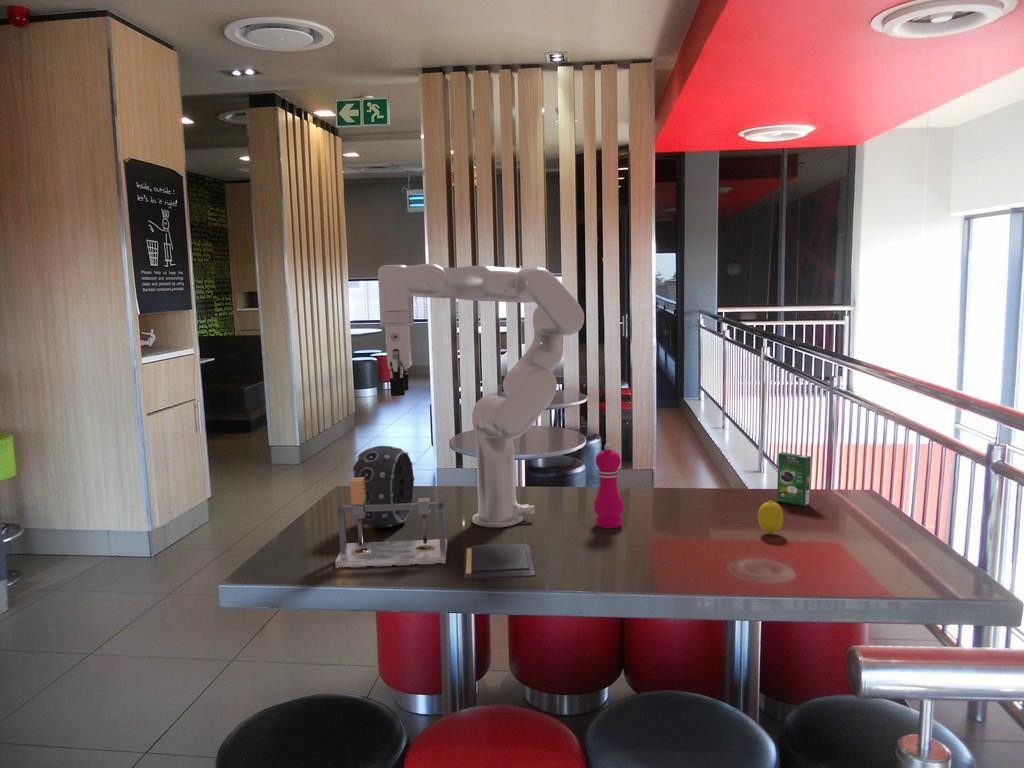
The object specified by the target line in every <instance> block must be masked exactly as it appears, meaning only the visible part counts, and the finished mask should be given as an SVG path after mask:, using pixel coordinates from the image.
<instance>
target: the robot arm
mask: <svg viewBox="0 0 1024 768" xmlns="http://www.w3.org/2000/svg"><path fill="white" fill-rule="evenodd" d="M377 271H378V272H377V280H378V281H377V283H378V301H379V321H380V322H379V323H380V325H379V326H380V327H385V347H386V360H387V367H388V369H389V370H390V372H389V373H390V374H389V376H390V378H389V389H390V391H389V393H390V396H391V397H401V396H405V395H406V392H407V391H409V390H410V389H409V373H408V369H410V368H411V366H412V365H413V358H412V344H411V341H412V340H411V331H410V330H411V329H410V326H413V325H414V311H413V309H414V308H413V307H414V306H413V297H414V298H432V299H433V298H435V299H439V298H440V299H455V300H464V301H473V302H474V301H476V302H498V303H499V302H501V303H515V304H516V303H517V304H518V303H521V304H522V303H523V304H524V303H525V304H526V303H527V304H528V303H529V304H530V303H535V304H536V305H537V306H536V308H535V309H534V311H533V312H532V313H533V314H532V326H533V340H532V343H531V344H530V346H529V348H528V349H527V350H526V352H525V353H524V354H522V356H521V357H520V358H519V360H518V361H517V362H516V363H515V364H514V366H512V368H510V370H508V372H507V374H506V375H505V376H504V378H503V382H502V388H503V391H504V393H505V395H506V396H507V397H504V396H500V395H486V396H483V397H482V398H479V399H478V401H477V402H476V403H475V404H474V406H473V409H472V412H471V413H472V414H471V421H472V427H473V429H472V430H473V434H474V439H475V447H476V448H475V450H476V481H477V483H476V484H477V486H476V487H477V510H478V512H477V513H475V514H474V515H472V517H471V518H472V519H471V520H472V523H473V524H474V525H476V526H479V527H484V528H505V527H512V526H516V525H517V524H520V523H521V522H523V520H524V519H523V514H535V505H529V504H528V503H527V504H520V503H518V500H517V495H516V488H517V487H516V463H515V462H516V461H515V459H516V455H515V453H516V452H515V444H514V440H515V439H517V438H520V437H521V436H523V435H524V434H525V433H526V432H527V431H528V430H529V429H530V428H531V427H532V426H533V425H534V423H535V422H537V420H538V418H539V417H540V416H541V415H542V414H543V412H544V411H545V410H546V409H547V408H548V407H549V405H550V404H551V403H552V402H553V400H554V398H555V395H556V393H557V387H558V386H557V385H558V384H557V383H558V382H557V378H556V377H555V374H554V373H553V372H554V371H555V370H556V368H557V367H558V366H559V364H560V363H561V360H562V358H563V355H564V336H572V335H575V334H577V333H579V332H580V330H581V329H582V328H583V325H584V322H585V313H584V310H583V308H582V307H581V305H580V303H579V302H578V301H577V300H576V298H574V296H573V295H572V294H571V293H570V292H569V291H568V290H567V288H566V287H565V286H564V285H563V284H562V283H561V281H560V280H559V279H558V278H557V277H556V276H555V275H554V274H553V273H552V272H551V271H550V270H548V269H547V268H544V267H541V266H536V267H535V266H534V267H525V268H524V267H523V268H521V267H520V268H519V267H506V266H505V267H503V266H493V265H469V266H462V267H461V266H459V267H442V266H440V265H438V264H436V263H423V264H422V263H421V264H415V265H407V264H406V265H405V264H386V265H382V266H380V267H379V268H378V270H377Z"/></svg>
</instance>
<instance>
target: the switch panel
mask: <svg viewBox="0 0 1024 768" xmlns="http://www.w3.org/2000/svg"><path fill="white" fill-rule="evenodd" d="M430 499H431V498H430V497H418V499H417V502H412V503H401V504H376V505H364V512H372V511H397V510H411V511H413V510H414V511H415V510H416V511H417V515H421V518H422V519H421V522H422V523H421V524H422V539H420V540H419V539H418V540H417V539H416V540H393V541H371V542H366V541H365V542H363V546H361V547H360V546H359V542H348V543H347V530H346V529H347V528H346V514H347V513H352V505H338V506H337V513H338V514H337V515H338V516H337V517H338V533H339V537H338V538H339V553H338V555H337V557H336V559H335V561H334V562H335V569H343V568H344V567H351V568H367V567H366V566H374V567H392V565H397V566H411V565H410V564H413V565H412V566H415V565H414V564H419V565H436V564H435V563H442V564H446V560H447V553H448V552H447V551H448V538H446V517H445V516H446V515H445V502H444V501H431V502H430ZM431 510H438V527H439V529H438V531H439V533H438V534H439V538H438V539H428V528H427V527H428V526H427V523H428V521H427V515H430V511H431ZM446 552H447V553H446ZM339 567H340V568H339ZM341 567H343V568H341ZM344 569H345V568H344Z"/></svg>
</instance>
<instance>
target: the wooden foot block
mask: <svg viewBox="0 0 1024 768" xmlns="http://www.w3.org/2000/svg"><path fill="white" fill-rule="evenodd" d="M349 483H350V484H349V487H350V504H352V512H351V513H352V519H356V521H357V537H358V539H357V540H358V543H359V546H360V547H361V546H363V543H364V539H363V523H362V518H364V517H365V515H366V512H364V505H366V504H365V500H366V492H365V477H354V478H353V477H352V478H351V479H350V481H349Z"/></svg>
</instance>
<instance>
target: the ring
mask: <svg viewBox="0 0 1024 768" xmlns="http://www.w3.org/2000/svg"><path fill="white" fill-rule="evenodd" d="M413 464H414V462H413V461H412V460H411V458H410V456H409V452H407V451H405V450H403V449H402V448H400V447H395V446H390V445H379V446H378V445H377V446H373V447H372V446H371V447H370V448H367V449H365V450H363V451H362V452H360V453H359V454H358V455H357V461H356V462H355V463H354V465H353V466H352V472H353V476H352V478H354V477H365V492H366V500H365V504H366V505H376V504H401V503H413V501H414V500H413V499H414V497H415V494H414V489H415V479H416V478H415V476H414V468H413ZM350 504H351V503H350ZM351 505H352V504H351ZM351 505H350V506H351ZM411 512H412V510H397V511H372V512H366V515H365V517H364V518H362V524H364V525H366V526H368V527H369V526H370V527H374V528H384V529H385V528H391V527H396V526H399V525H400V524H402V523H405V522H406V521H407V518H408V516H409V514H410V513H411Z"/></svg>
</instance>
